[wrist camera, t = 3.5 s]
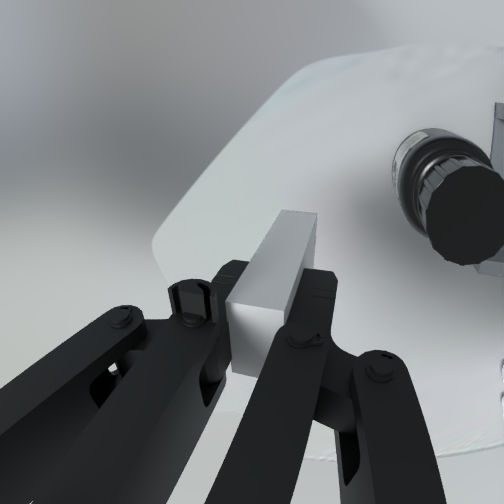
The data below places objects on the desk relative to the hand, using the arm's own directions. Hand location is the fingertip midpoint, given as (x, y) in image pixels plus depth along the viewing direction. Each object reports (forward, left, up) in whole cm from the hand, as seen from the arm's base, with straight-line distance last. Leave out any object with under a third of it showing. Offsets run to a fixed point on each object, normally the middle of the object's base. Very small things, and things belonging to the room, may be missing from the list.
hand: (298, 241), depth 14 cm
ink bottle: (-10, 0, -19) cm, 21 cm away
